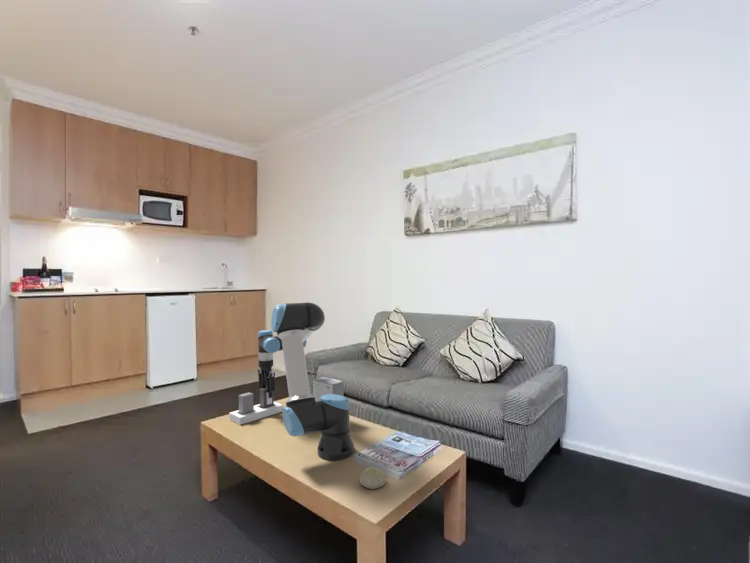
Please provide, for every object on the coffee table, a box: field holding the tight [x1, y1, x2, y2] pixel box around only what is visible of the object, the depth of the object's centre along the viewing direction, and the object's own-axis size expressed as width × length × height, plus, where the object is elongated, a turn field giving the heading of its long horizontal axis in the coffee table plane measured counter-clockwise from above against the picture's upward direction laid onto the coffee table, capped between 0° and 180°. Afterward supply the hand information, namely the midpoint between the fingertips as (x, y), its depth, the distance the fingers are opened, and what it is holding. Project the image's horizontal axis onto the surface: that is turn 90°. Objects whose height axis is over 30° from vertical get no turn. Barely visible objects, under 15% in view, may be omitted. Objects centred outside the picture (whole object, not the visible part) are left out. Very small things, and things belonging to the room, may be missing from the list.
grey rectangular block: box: [259, 386, 275, 409], centre depth 211 cm, size 4×6×12 cm, turn 137°
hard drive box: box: [312, 376, 345, 401], centre depth 199 cm, size 16×8×20 cm, turn 49°
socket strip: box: [228, 392, 284, 426], centre depth 207 cm, size 11×25×12 cm, turn 137°
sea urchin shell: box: [359, 467, 386, 490], centre depth 139 cm, size 9×8×8 cm
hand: (266, 402), depth 211 cm, fingers open, 4 cm apart
